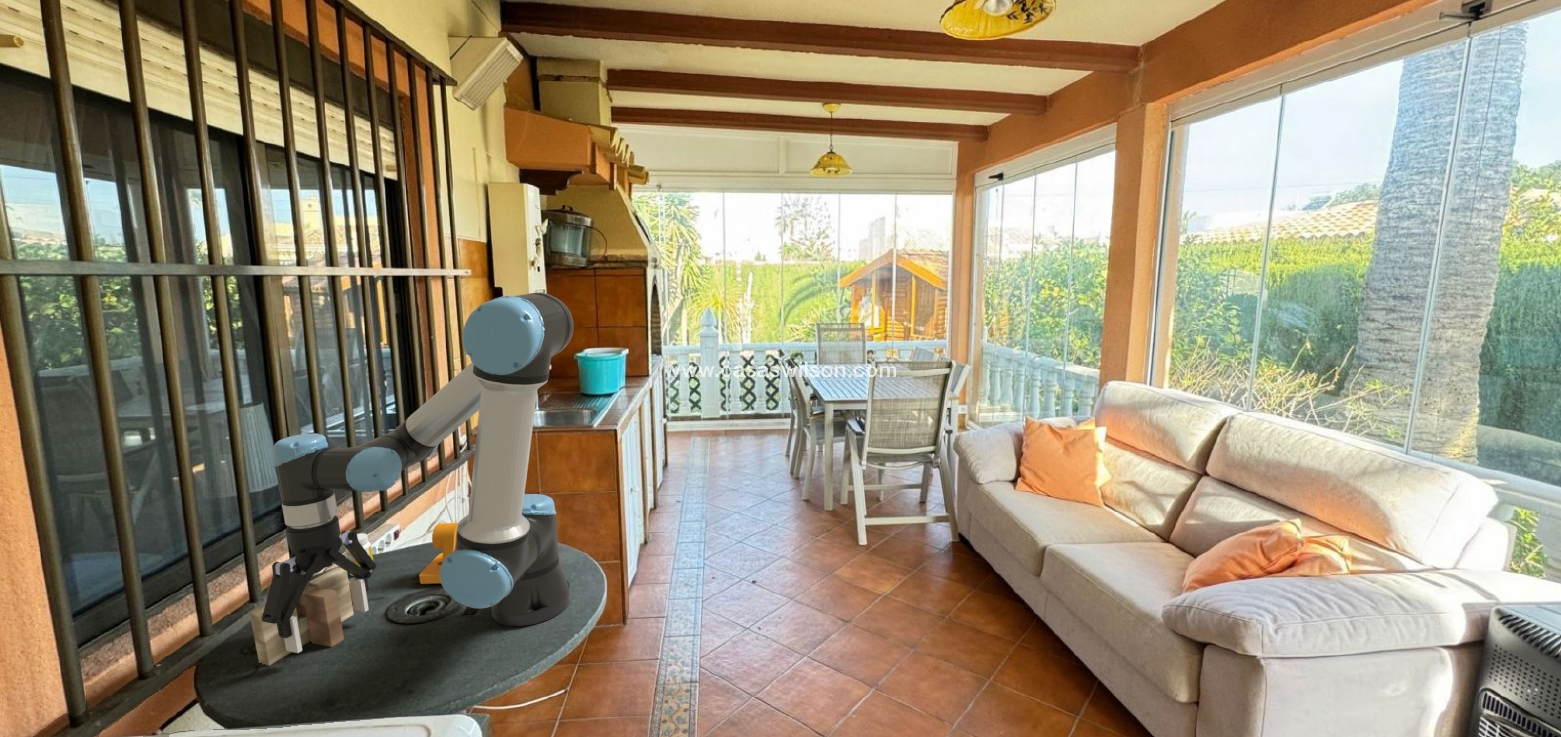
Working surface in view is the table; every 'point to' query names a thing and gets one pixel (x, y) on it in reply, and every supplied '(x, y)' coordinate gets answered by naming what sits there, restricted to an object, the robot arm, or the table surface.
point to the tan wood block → (321, 615)
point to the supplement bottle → (365, 544)
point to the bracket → (441, 539)
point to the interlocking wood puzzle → (298, 618)
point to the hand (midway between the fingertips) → (329, 629)
